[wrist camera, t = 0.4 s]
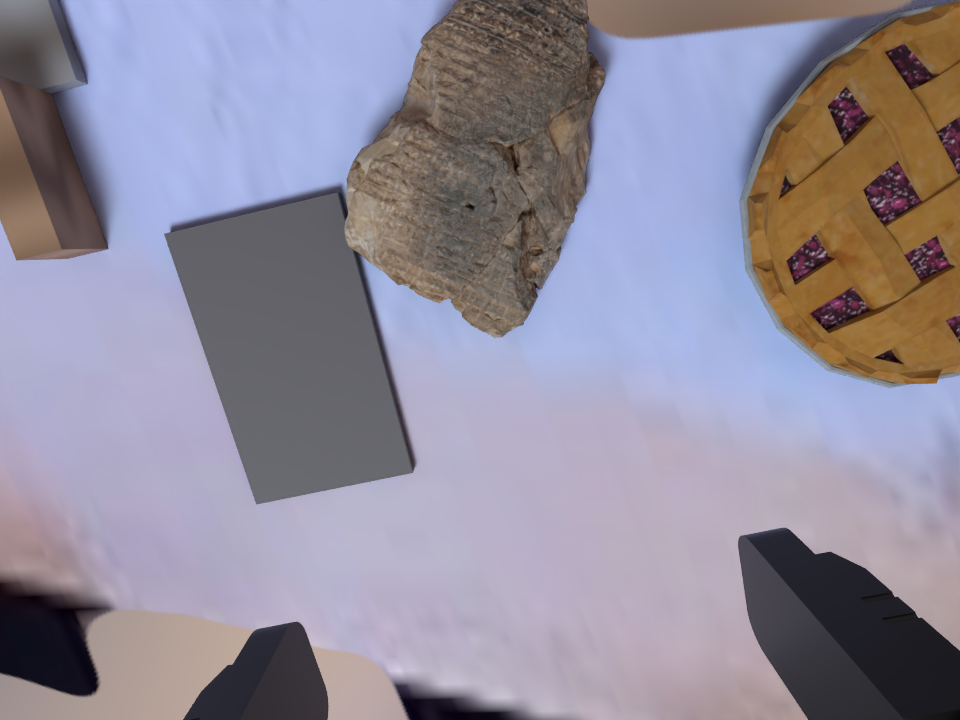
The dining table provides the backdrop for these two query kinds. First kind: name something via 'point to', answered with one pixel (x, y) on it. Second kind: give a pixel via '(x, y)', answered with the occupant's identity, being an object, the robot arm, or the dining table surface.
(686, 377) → the dining table surface
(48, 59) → the turner
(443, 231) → the clay tablet
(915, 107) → the pie
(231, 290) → the mat
